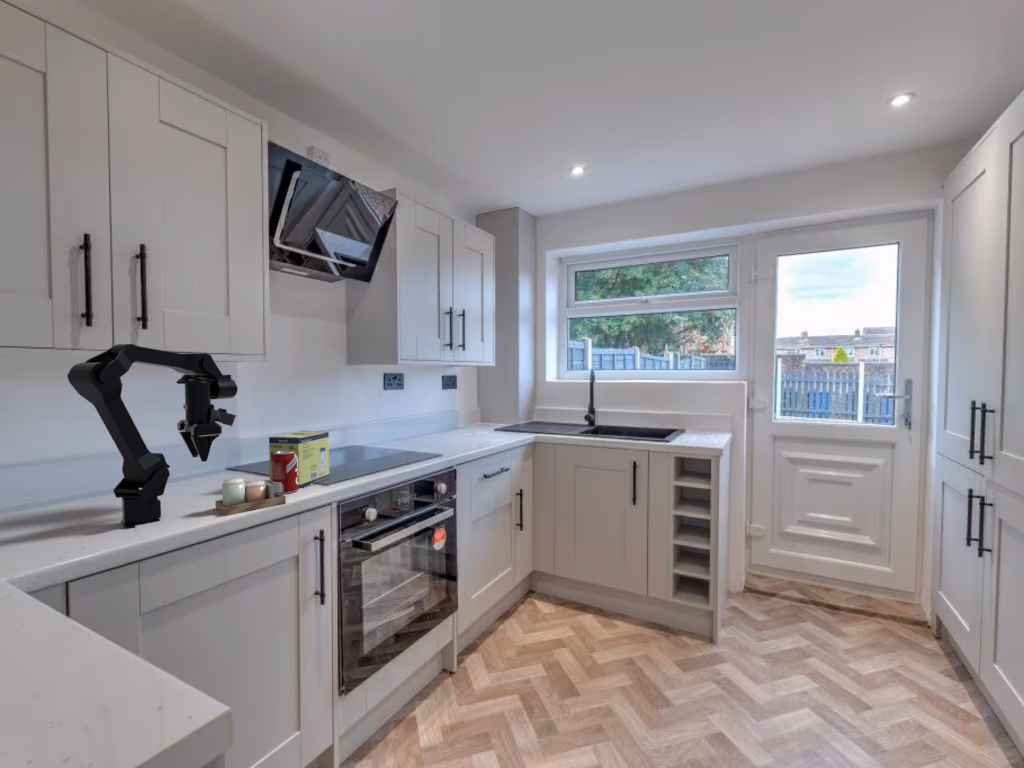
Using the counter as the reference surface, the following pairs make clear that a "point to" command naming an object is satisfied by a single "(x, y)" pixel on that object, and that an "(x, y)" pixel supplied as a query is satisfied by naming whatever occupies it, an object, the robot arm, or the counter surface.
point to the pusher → (269, 490)
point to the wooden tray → (251, 505)
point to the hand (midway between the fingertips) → (199, 459)
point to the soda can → (285, 471)
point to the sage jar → (233, 492)
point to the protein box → (304, 454)
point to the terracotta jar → (255, 491)
